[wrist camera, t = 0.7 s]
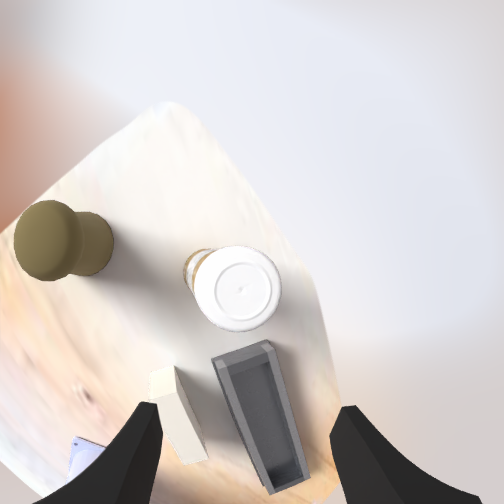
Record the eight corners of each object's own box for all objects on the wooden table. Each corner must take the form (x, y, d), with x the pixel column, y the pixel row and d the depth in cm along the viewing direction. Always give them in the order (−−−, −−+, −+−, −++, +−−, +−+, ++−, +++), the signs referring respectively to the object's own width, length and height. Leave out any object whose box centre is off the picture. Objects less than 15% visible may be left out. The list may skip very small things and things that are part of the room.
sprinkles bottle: (229, 295, 29) (283, 331, 16) (182, 296, 27) (198, 336, 14) (230, 248, 29) (285, 246, 16) (182, 247, 27) (197, 244, 14)
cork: (124, 229, 26) (99, 215, 15) (97, 287, 25) (59, 309, 14) (73, 201, 24) (25, 173, 14) (47, 257, 23) (-11, 262, 13)
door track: (302, 464, 31) (312, 477, 28) (260, 482, 30) (268, 495, 27) (266, 339, 30) (276, 348, 27) (210, 358, 28) (215, 370, 25)
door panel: (200, 426, 28) (209, 458, 22) (178, 432, 27) (183, 465, 21) (173, 365, 27) (176, 391, 21) (150, 371, 26) (148, 399, 21)
